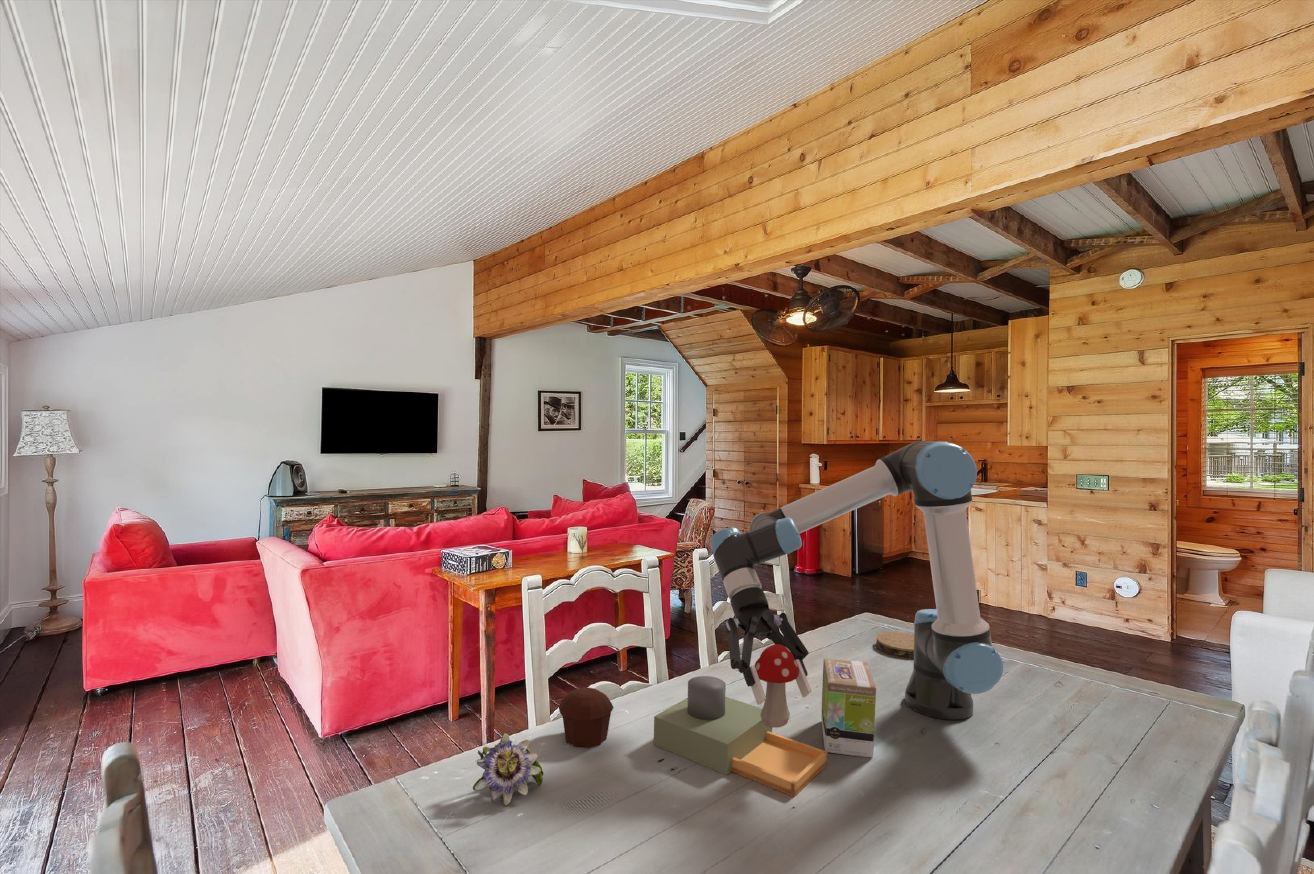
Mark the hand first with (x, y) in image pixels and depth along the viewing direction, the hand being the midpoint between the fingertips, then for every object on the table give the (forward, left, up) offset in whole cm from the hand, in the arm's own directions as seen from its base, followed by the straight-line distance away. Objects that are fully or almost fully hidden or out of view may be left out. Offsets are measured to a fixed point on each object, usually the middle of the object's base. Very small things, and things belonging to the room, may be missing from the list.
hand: (784, 697), depth 123 cm
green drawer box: (+11, -2, -15) cm, 18 cm away
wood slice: (+4, -87, -15) cm, 88 cm away
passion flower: (+36, +37, -15) cm, 54 cm away
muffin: (+39, +14, -15) cm, 44 cm away
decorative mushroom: (+3, -2, -6) cm, 7 cm away
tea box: (-4, -22, -15) cm, 27 cm away
